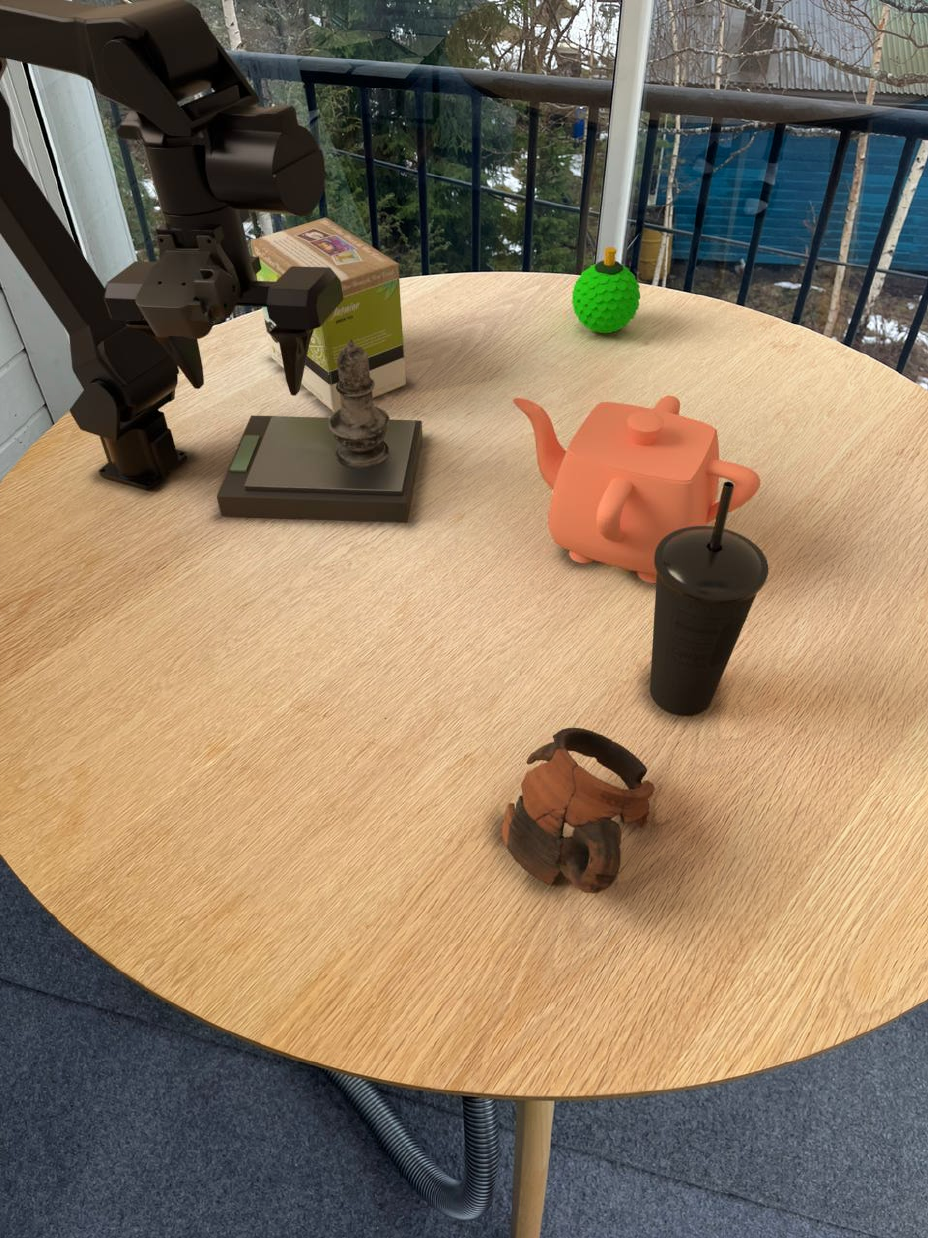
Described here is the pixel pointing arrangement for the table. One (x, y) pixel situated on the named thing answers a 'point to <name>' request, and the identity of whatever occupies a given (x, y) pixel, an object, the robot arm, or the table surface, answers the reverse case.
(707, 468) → the teapot
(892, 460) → the table surface
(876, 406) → the table surface
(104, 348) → the robot arm
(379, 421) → the chess piece
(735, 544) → the drinking cup
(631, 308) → the ornament
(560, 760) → the pottery mug
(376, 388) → the tea box
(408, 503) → the scale
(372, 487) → the scale pan
